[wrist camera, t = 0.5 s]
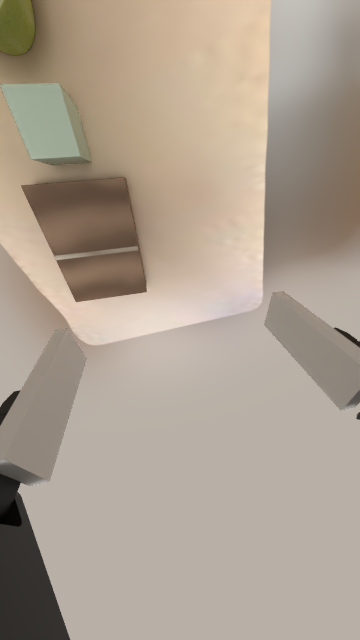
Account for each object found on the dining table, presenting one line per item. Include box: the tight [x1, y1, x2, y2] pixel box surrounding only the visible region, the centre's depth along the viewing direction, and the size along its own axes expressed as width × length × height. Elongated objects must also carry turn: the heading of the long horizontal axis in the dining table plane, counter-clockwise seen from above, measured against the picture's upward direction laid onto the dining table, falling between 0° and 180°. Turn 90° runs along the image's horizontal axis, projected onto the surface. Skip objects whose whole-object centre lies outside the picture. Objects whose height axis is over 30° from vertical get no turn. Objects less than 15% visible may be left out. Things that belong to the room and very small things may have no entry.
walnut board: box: [21, 178, 147, 302], centre depth 28 cm, size 16×12×4 cm
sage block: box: [0, 83, 92, 165], centre depth 20 cm, size 5×5×6 cm
